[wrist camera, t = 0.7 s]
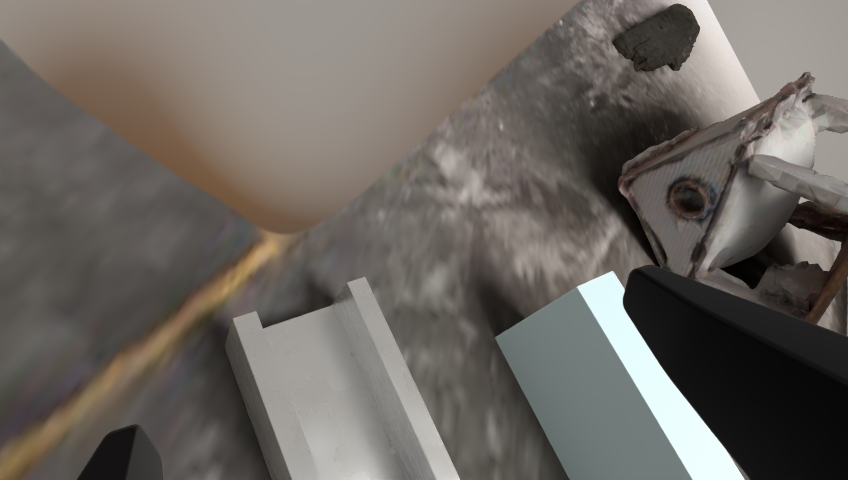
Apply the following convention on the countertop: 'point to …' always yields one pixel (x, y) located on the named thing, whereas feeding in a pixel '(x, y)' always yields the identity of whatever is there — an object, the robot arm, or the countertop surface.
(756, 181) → the rusty metal skip
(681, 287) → the robot arm
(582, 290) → the door panel
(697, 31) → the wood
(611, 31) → the countertop surface
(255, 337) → the floor track
